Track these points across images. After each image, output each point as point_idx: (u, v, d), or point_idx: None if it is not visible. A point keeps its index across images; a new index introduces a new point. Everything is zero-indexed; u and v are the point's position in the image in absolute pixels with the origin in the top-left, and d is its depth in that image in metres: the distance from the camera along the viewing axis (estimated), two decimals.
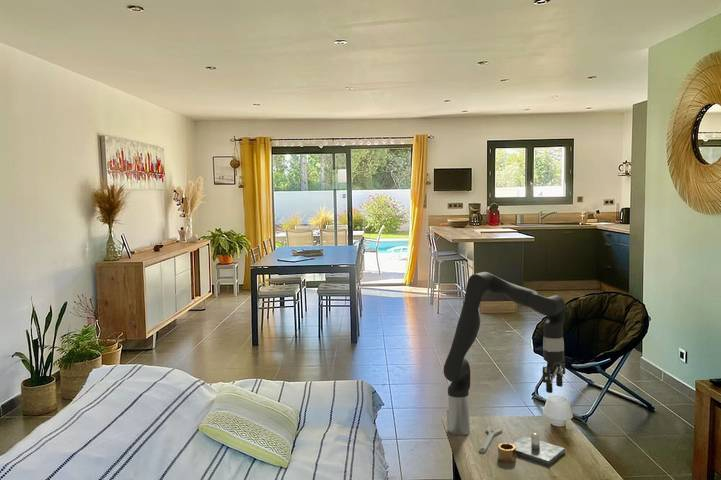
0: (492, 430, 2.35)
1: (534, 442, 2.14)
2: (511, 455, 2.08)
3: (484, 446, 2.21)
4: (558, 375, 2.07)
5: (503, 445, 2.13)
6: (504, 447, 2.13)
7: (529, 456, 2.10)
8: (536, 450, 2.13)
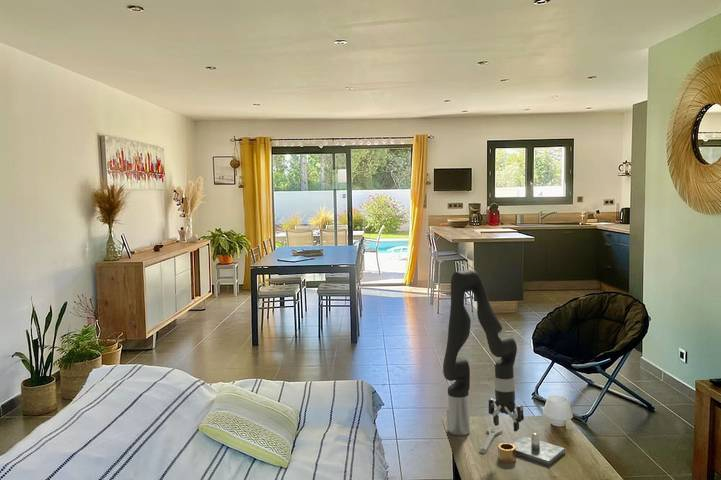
0: (492, 430, 2.35)
1: (534, 442, 2.14)
2: (511, 455, 2.08)
3: (484, 446, 2.21)
4: None
5: (503, 445, 2.13)
6: (504, 447, 2.13)
7: (529, 456, 2.10)
8: (536, 450, 2.13)
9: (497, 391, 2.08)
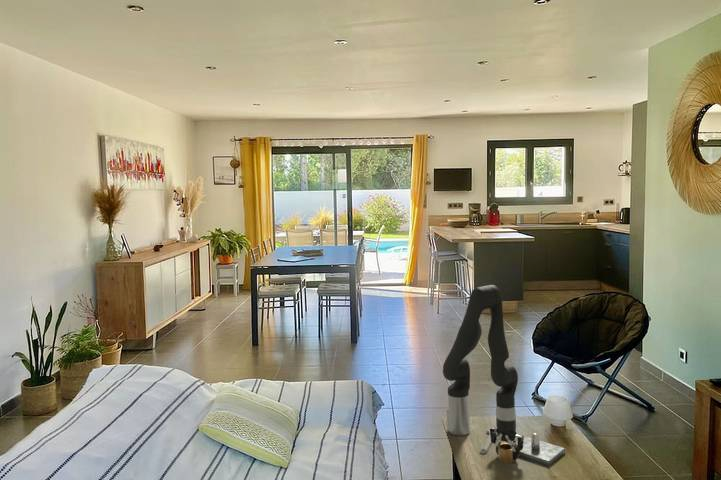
0: None
1: (534, 442, 2.14)
2: (511, 455, 2.08)
3: (485, 447, 2.20)
4: (498, 444, 2.13)
5: (503, 445, 2.13)
6: (504, 447, 2.13)
7: (529, 456, 2.10)
8: (536, 450, 2.13)
9: (498, 420, 2.08)
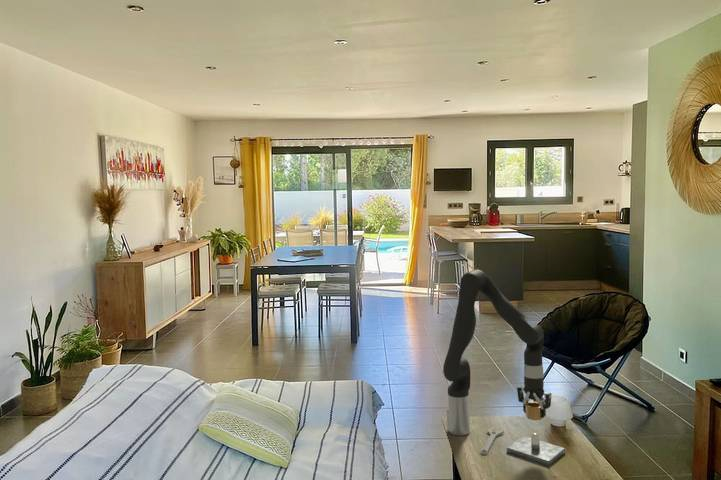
0: (494, 431, 2.34)
1: (534, 442, 2.14)
2: (539, 412, 2.11)
3: (486, 448, 2.20)
4: (526, 402, 2.16)
5: (530, 404, 2.16)
6: (531, 406, 2.16)
7: (529, 456, 2.10)
8: (536, 450, 2.13)
9: (526, 378, 2.11)
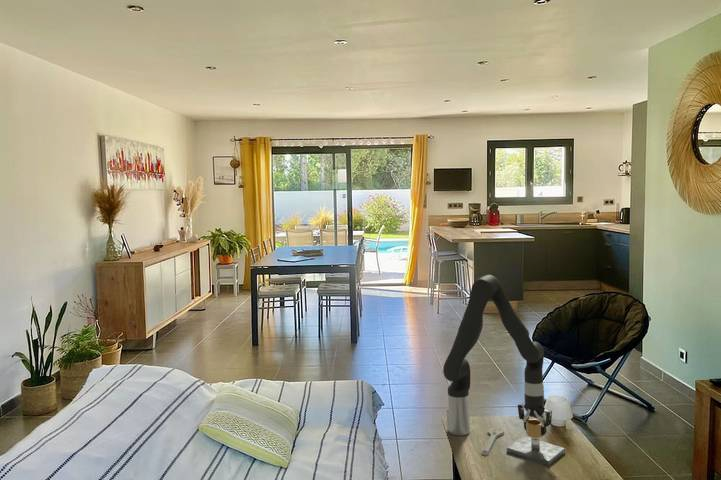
0: (494, 432, 2.33)
1: (534, 442, 2.14)
2: (539, 430, 2.11)
3: (486, 448, 2.19)
4: (526, 420, 2.17)
5: (531, 421, 2.17)
6: (532, 423, 2.17)
7: (529, 456, 2.10)
8: (536, 450, 2.13)
9: (527, 395, 2.12)
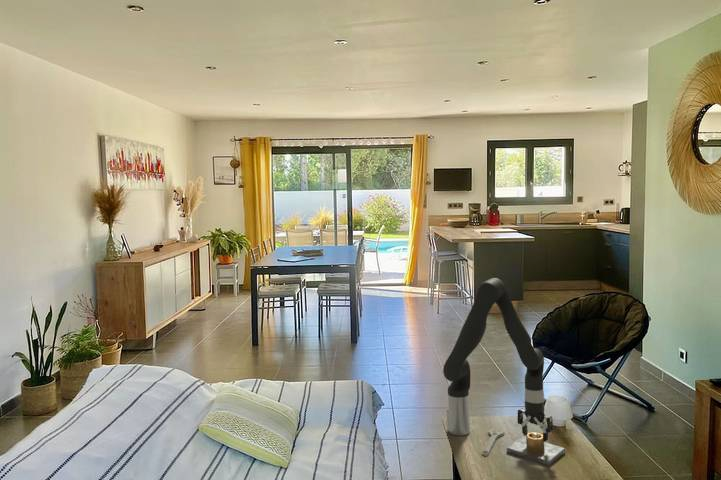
0: (494, 432, 2.33)
1: None
2: (540, 444, 2.12)
3: (487, 449, 2.19)
4: (525, 425, 2.17)
5: (531, 434, 2.17)
6: None
7: (529, 456, 2.10)
8: None
9: (527, 402, 2.12)
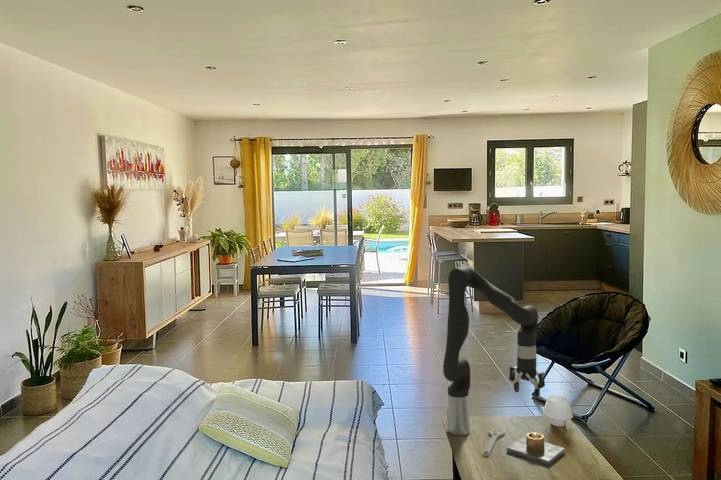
0: (495, 433, 2.32)
1: None
2: (540, 444, 2.12)
3: (488, 449, 2.18)
4: (517, 381, 2.17)
5: (531, 434, 2.17)
6: None
7: (529, 456, 2.10)
8: None
9: (519, 358, 2.12)
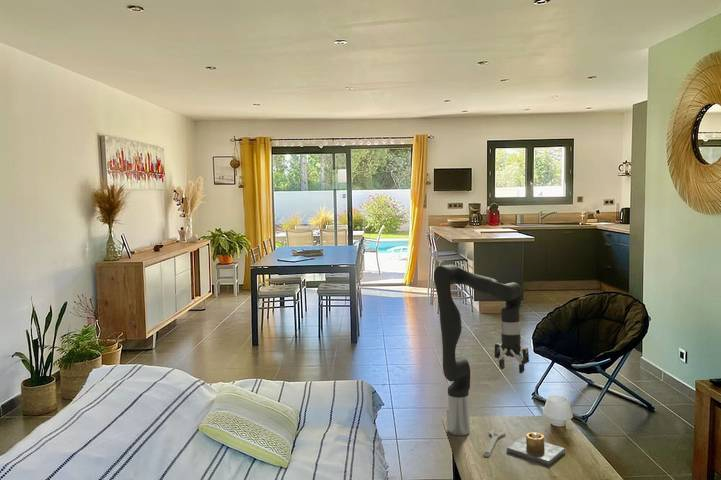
0: (495, 433, 2.32)
1: None
2: (540, 444, 2.12)
3: (488, 450, 2.18)
4: (502, 358, 2.19)
5: (531, 434, 2.17)
6: None
7: (529, 456, 2.10)
8: None
9: (503, 334, 2.14)
